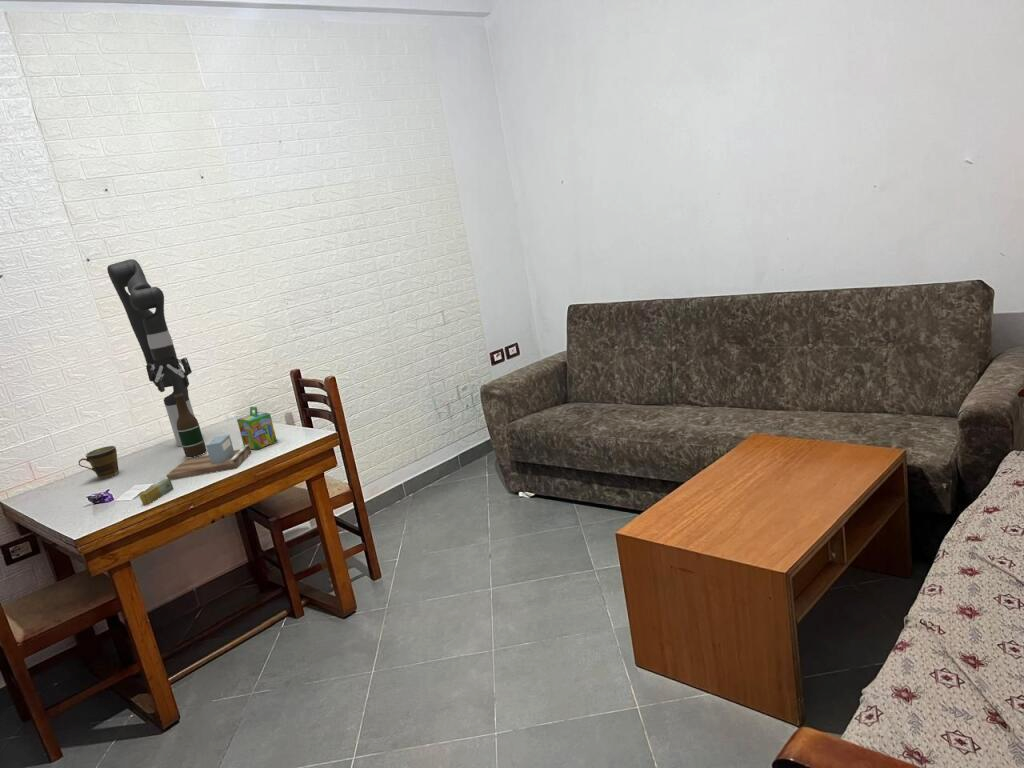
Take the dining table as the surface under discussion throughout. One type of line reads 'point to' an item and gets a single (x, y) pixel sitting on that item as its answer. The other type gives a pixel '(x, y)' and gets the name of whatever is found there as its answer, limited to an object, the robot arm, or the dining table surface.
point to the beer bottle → (188, 429)
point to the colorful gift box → (257, 429)
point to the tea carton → (220, 449)
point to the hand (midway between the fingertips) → (174, 389)
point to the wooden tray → (208, 464)
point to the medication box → (156, 491)
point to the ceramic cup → (103, 461)
